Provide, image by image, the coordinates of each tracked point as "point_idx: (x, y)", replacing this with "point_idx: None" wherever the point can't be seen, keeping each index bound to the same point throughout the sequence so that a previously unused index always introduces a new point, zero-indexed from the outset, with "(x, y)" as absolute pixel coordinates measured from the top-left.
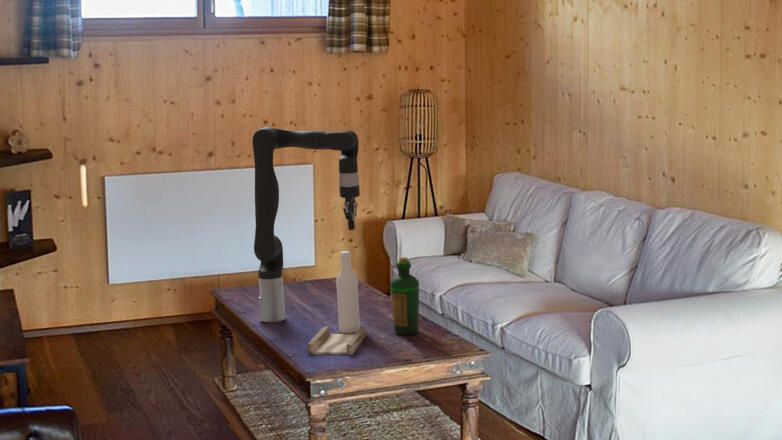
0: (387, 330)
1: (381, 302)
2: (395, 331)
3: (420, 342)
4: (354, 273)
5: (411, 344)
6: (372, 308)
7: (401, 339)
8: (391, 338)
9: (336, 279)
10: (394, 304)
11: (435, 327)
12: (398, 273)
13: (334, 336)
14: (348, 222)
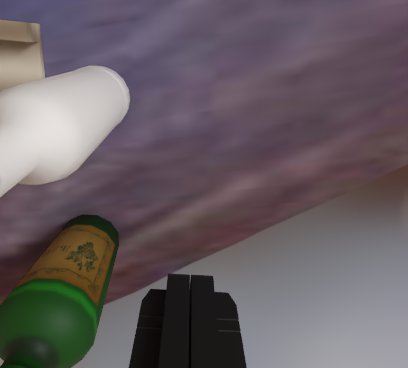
0: (109, 193)
1: (385, 147)
2: (77, 217)
3: (22, 268)
4: (31, 183)
5: (4, 253)
6: (326, 130)
7: (38, 230)
8: (43, 209)
9: (19, 86)
10: (34, 264)
11: (138, 285)
12: (17, 351)
13: (13, 63)
14: (158, 349)
